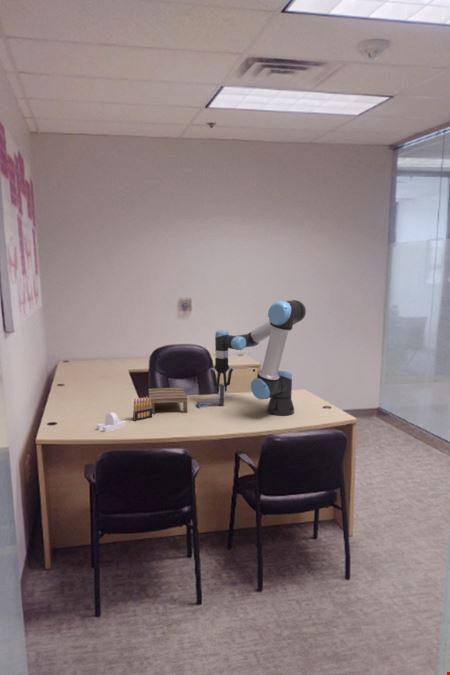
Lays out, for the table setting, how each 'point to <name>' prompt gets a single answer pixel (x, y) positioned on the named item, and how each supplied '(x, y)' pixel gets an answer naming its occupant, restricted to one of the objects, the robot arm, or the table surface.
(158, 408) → the table surface
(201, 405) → the puck
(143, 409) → the ammunition clip
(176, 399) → the bench
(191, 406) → the table surface
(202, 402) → the hook tool
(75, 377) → the table surface
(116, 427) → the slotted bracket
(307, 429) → the table surface
